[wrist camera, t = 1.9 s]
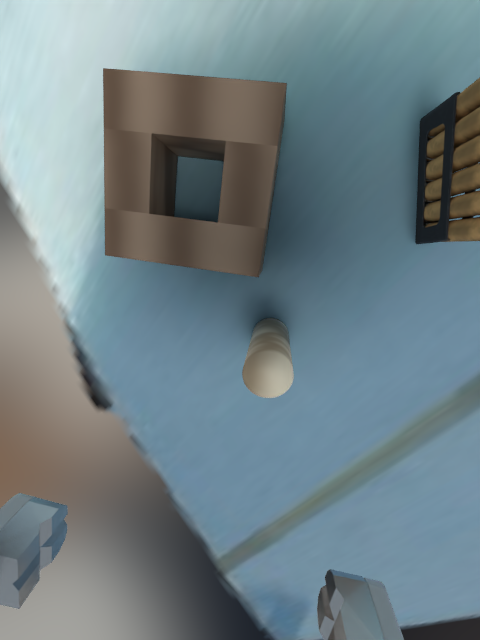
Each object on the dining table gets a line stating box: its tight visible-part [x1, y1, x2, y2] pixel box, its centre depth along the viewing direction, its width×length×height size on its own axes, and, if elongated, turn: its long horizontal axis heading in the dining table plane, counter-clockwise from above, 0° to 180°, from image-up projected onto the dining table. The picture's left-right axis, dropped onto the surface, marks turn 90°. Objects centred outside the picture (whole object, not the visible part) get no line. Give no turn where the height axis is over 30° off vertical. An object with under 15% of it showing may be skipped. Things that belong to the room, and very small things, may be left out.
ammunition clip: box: [416, 78, 480, 244], centre depth 20 cm, size 11×2×12 cm, turn 7°
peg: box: [242, 318, 293, 398], centre depth 27 cm, size 4×4×10 cm
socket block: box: [103, 68, 287, 277], centre depth 25 cm, size 14×14×6 cm
